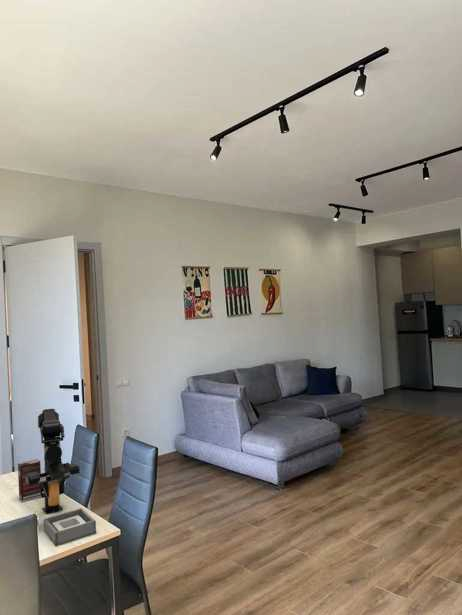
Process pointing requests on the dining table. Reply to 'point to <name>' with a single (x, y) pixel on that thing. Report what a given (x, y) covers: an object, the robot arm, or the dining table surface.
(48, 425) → the robot arm
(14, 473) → the dining table surface
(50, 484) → the plug
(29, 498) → the supplement box
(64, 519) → the inlet box
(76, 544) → the dining table surface
